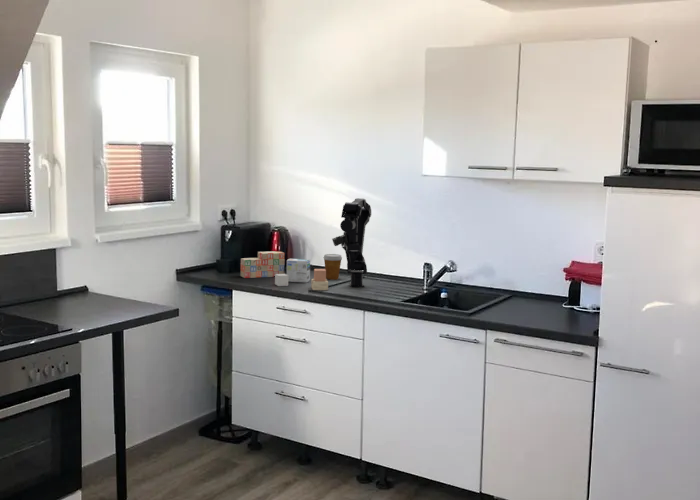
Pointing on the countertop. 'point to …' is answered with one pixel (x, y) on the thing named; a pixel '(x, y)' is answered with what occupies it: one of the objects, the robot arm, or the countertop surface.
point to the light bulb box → (298, 270)
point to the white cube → (281, 279)
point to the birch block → (319, 285)
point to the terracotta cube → (319, 274)
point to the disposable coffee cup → (332, 265)
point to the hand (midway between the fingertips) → (350, 263)
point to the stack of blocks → (263, 265)
